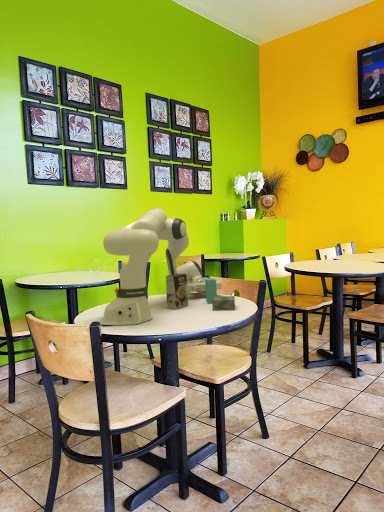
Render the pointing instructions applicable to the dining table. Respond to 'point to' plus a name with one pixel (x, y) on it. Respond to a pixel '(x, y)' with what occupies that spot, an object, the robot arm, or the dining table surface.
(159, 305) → the dining table surface
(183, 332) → the dining table surface
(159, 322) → the dining table surface
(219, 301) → the charcoal block
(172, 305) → the coffee box
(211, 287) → the teal pillar
